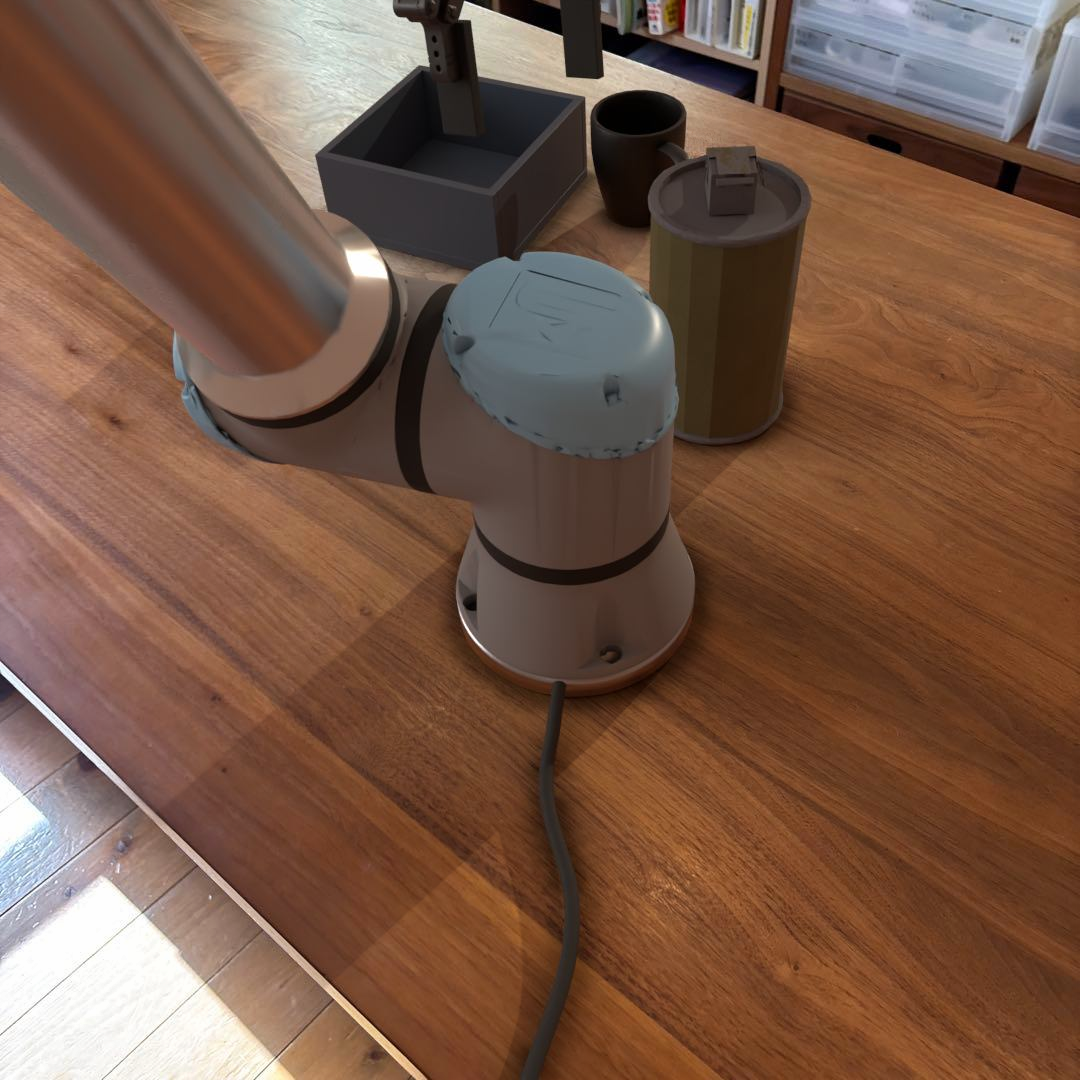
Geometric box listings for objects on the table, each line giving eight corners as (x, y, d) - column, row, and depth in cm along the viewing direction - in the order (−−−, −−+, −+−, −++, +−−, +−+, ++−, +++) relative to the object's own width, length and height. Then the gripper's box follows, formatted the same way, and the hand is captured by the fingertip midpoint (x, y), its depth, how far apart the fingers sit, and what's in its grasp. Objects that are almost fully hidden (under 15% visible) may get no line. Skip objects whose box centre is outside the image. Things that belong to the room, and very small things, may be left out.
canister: (790, 444, 81) (829, 199, 66) (646, 448, 81) (652, 206, 66) (773, 349, 88) (804, 108, 73) (641, 353, 88) (644, 115, 73)
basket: (500, 278, 96) (492, 195, 90) (332, 234, 102) (314, 154, 96) (587, 176, 106) (585, 96, 100) (429, 142, 112) (418, 64, 106)
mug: (638, 268, 96) (639, 167, 89) (577, 201, 103) (573, 104, 96) (720, 240, 98) (728, 140, 91) (654, 177, 105) (657, 80, 98)
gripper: (387, -294, 51) (453, 168, 63) (662, -315, 67) (672, 59, 79) (275, -277, 55) (358, 156, 67) (559, -300, 71) (584, 54, 83)
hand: (528, 104), depth 73 cm, fingers open, 13 cm apart
